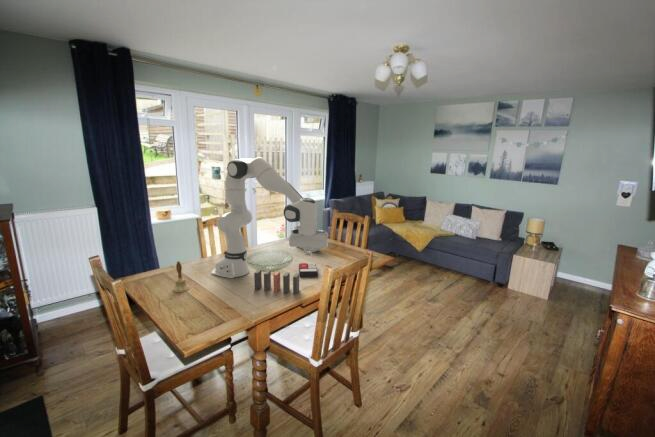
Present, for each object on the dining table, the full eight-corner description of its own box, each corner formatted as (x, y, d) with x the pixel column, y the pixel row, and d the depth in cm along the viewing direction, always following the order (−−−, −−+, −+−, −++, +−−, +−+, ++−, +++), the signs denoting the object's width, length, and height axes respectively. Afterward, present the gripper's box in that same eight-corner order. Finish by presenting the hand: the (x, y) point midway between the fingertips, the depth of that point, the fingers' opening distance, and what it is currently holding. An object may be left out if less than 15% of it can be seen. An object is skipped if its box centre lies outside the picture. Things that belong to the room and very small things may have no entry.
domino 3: (273, 291, 168) (273, 274, 165) (276, 287, 173) (276, 271, 170) (277, 292, 167) (277, 275, 165) (280, 288, 172) (280, 271, 170)
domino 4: (283, 293, 167) (283, 275, 164) (286, 288, 172) (286, 272, 169) (286, 293, 166) (286, 276, 164) (289, 289, 171) (289, 272, 169)
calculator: (315, 262, 202) (317, 270, 188) (315, 268, 203) (317, 277, 188) (298, 262, 201) (299, 270, 186) (298, 269, 202) (299, 277, 187)
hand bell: (181, 293, 163) (178, 265, 159) (169, 290, 166) (166, 263, 162) (193, 287, 171) (190, 260, 167) (181, 284, 174) (178, 257, 170)
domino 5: (293, 294, 166) (293, 276, 163) (295, 289, 171) (295, 273, 168) (296, 294, 165) (296, 277, 163) (299, 290, 170) (299, 273, 168)
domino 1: (254, 289, 170) (254, 272, 167) (258, 285, 174) (257, 269, 172) (258, 290, 169) (257, 273, 167) (261, 286, 174) (261, 269, 172)
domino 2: (264, 290, 169) (263, 273, 166) (267, 286, 173) (267, 270, 171) (267, 291, 168) (267, 274, 166) (270, 287, 173) (270, 270, 171)
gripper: (329, 229, 160) (329, 254, 163) (291, 227, 163) (291, 252, 166) (327, 232, 154) (327, 258, 157) (287, 230, 157) (288, 255, 160)
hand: (308, 255), depth 161 cm, fingers closed
